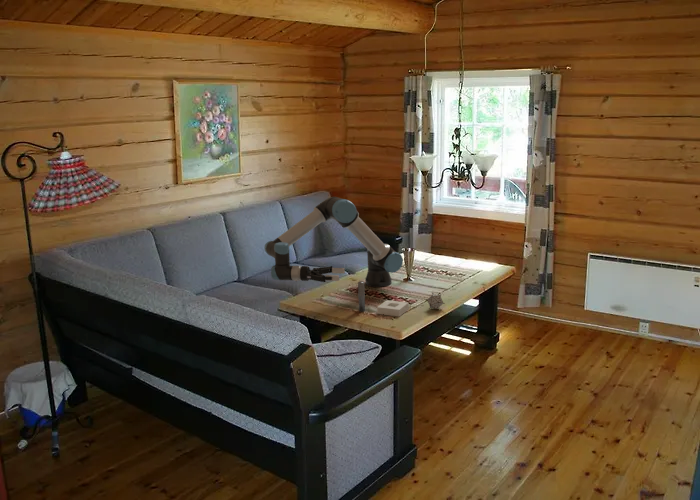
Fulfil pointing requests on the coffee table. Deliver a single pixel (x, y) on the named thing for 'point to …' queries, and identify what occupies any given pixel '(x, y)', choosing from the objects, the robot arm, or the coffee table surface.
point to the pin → (361, 296)
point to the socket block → (393, 308)
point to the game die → (435, 301)
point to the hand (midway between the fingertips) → (341, 274)
